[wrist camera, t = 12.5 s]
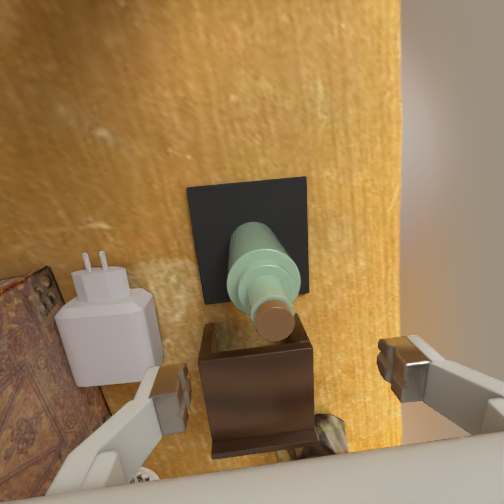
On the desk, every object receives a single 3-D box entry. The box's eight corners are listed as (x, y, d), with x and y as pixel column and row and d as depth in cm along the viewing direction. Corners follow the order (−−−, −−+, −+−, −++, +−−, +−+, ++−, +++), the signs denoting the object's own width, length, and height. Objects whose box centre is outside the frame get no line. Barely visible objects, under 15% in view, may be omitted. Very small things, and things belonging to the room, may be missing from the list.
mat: (187, 187, 28) (186, 187, 27) (305, 176, 29) (306, 176, 28) (205, 302, 32) (204, 304, 32) (308, 290, 33) (309, 293, 32)
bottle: (226, 224, 29) (218, 284, 13) (275, 219, 29) (325, 272, 13) (231, 270, 31) (230, 372, 15) (278, 265, 31) (325, 361, 15)
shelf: (204, 323, 33) (195, 371, 25) (297, 313, 34) (317, 357, 26) (216, 397, 37) (212, 460, 29) (300, 386, 37) (318, 445, 29)
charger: (145, 242, 29) (165, 352, 34) (62, 248, 29) (93, 359, 33) (129, 255, 25) (155, 380, 29) (30, 262, 24) (71, 388, 29)
